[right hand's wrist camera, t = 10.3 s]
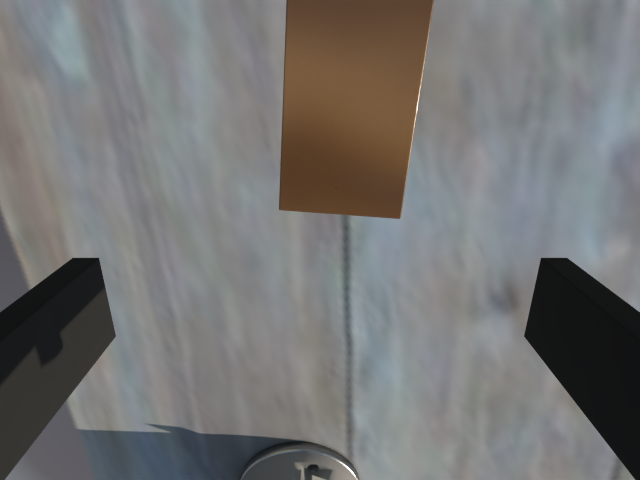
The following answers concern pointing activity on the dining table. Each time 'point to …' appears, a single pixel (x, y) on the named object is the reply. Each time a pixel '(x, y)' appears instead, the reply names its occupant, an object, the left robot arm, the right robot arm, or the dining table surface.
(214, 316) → the dining table surface
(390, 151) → the bar
